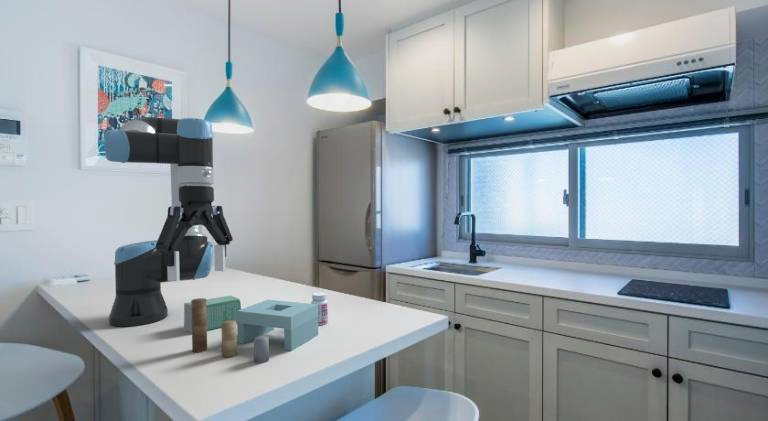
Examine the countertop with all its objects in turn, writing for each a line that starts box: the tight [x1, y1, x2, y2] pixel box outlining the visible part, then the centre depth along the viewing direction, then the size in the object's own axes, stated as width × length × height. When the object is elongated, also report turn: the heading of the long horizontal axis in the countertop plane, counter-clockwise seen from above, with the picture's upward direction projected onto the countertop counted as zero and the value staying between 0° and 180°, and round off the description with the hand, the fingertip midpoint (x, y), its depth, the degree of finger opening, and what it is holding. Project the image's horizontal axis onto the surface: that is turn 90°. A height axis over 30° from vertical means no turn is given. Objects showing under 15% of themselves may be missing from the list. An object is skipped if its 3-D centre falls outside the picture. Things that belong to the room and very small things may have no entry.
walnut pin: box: [190, 297, 208, 354], centre depth 94 cm, size 3×3×12 cm
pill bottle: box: [310, 292, 329, 326], centre depth 114 cm, size 5×5×8 cm
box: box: [183, 295, 242, 334], centre depth 113 cm, size 7×14×8 cm, turn 136°
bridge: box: [236, 299, 319, 352], centre depth 102 cm, size 16×12×8 cm
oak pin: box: [220, 321, 238, 359], centre depth 91 cm, size 3×3×8 cm
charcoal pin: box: [253, 335, 270, 364], centre depth 88 cm, size 3×3×5 cm
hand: (198, 275), depth 94 cm, fingers open, 13 cm apart
